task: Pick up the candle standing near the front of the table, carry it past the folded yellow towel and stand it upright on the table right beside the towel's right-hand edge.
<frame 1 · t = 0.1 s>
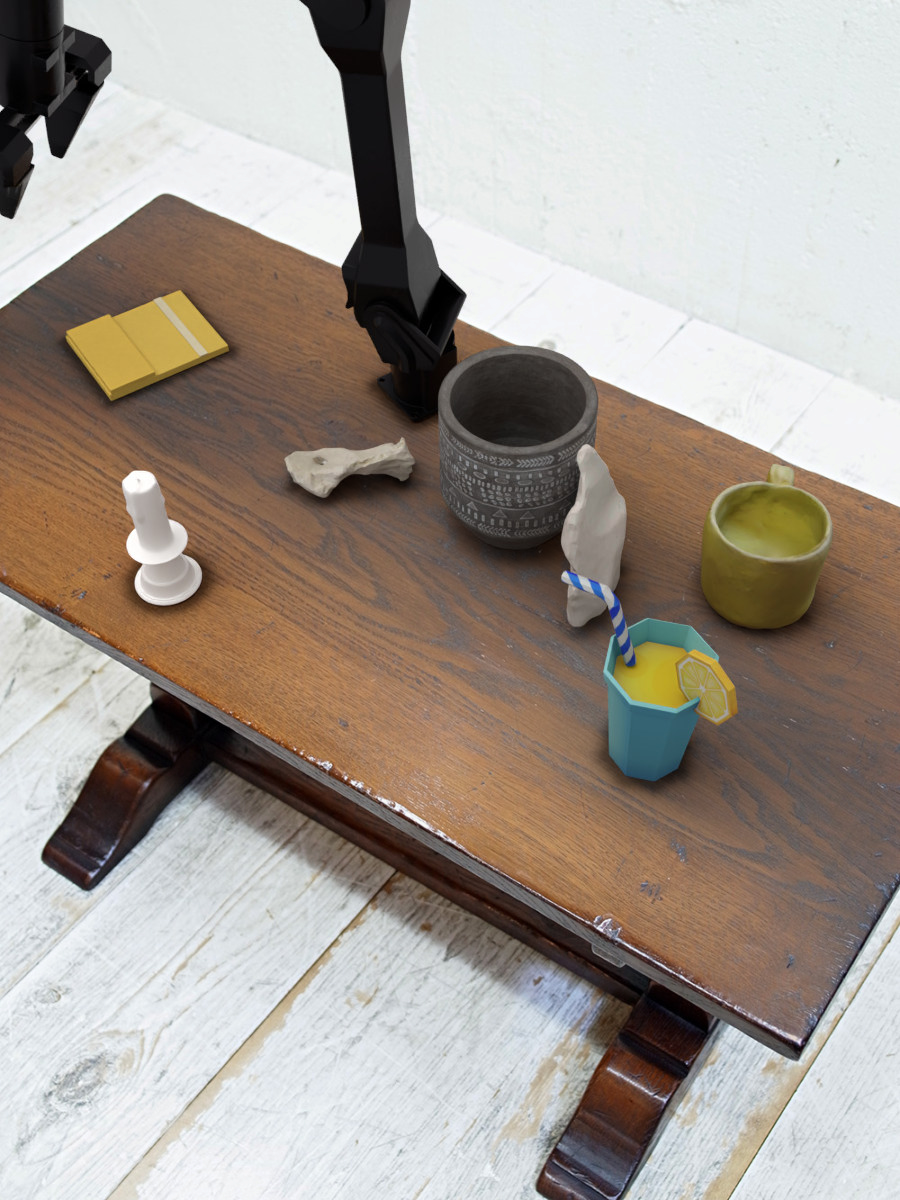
hand: (33, 185, 111), 15 cm above the table, tool pointing down, fingers open, 9 cm apart
cup: (634, 744, 93), on the table
candle: (169, 581, 103), on the table
stone: (606, 594, 102), on the table, touching planter
planter: (514, 513, 107), on the table, touching stone
off-white irregular piece: (354, 481, 110), on the table
towel: (147, 346, 121), on the table
mug: (758, 576, 102), on the table
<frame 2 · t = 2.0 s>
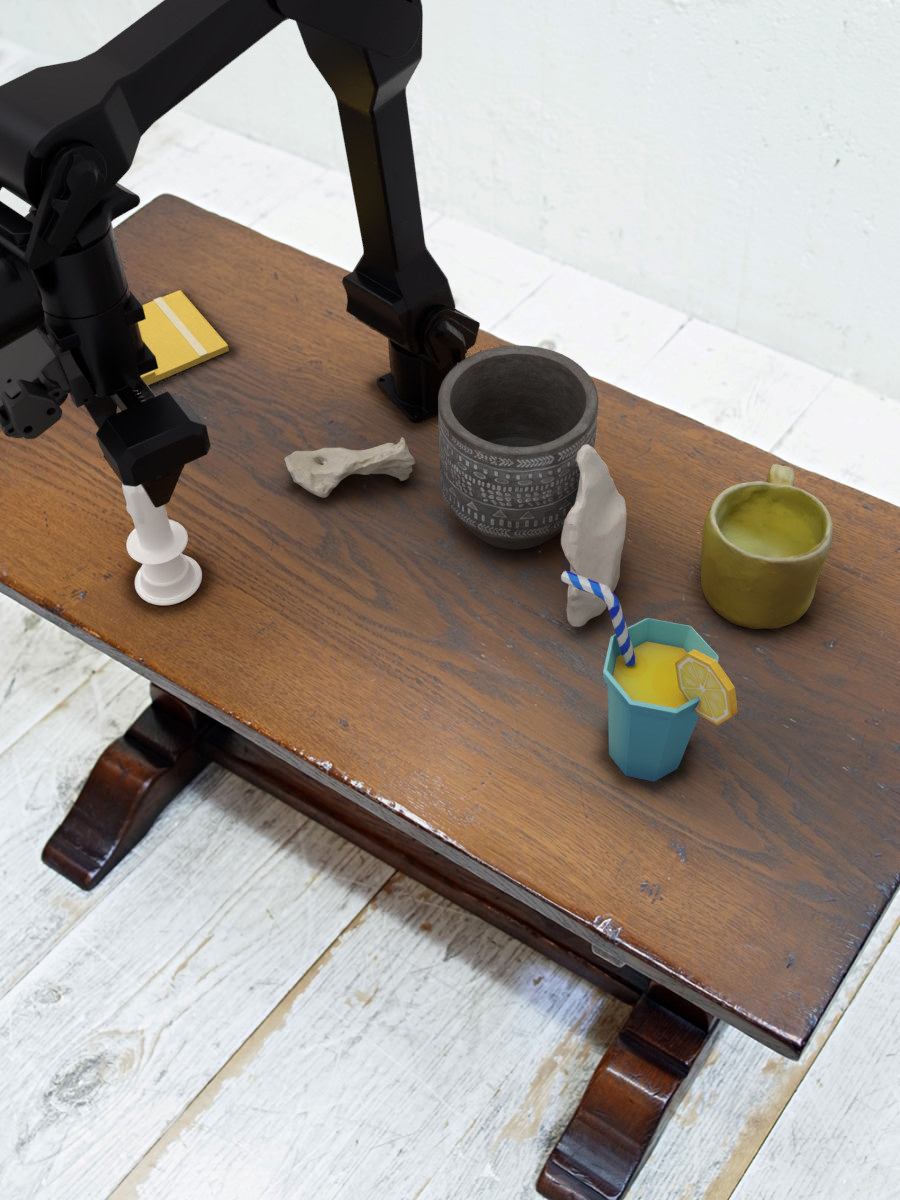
hand: (133, 465, 93), 13 cm above the table, tool pointing down, fingers open, 9 cm apart
stone: (606, 594, 102), on the table
planter: (514, 513, 107), on the table
everything else where it was.
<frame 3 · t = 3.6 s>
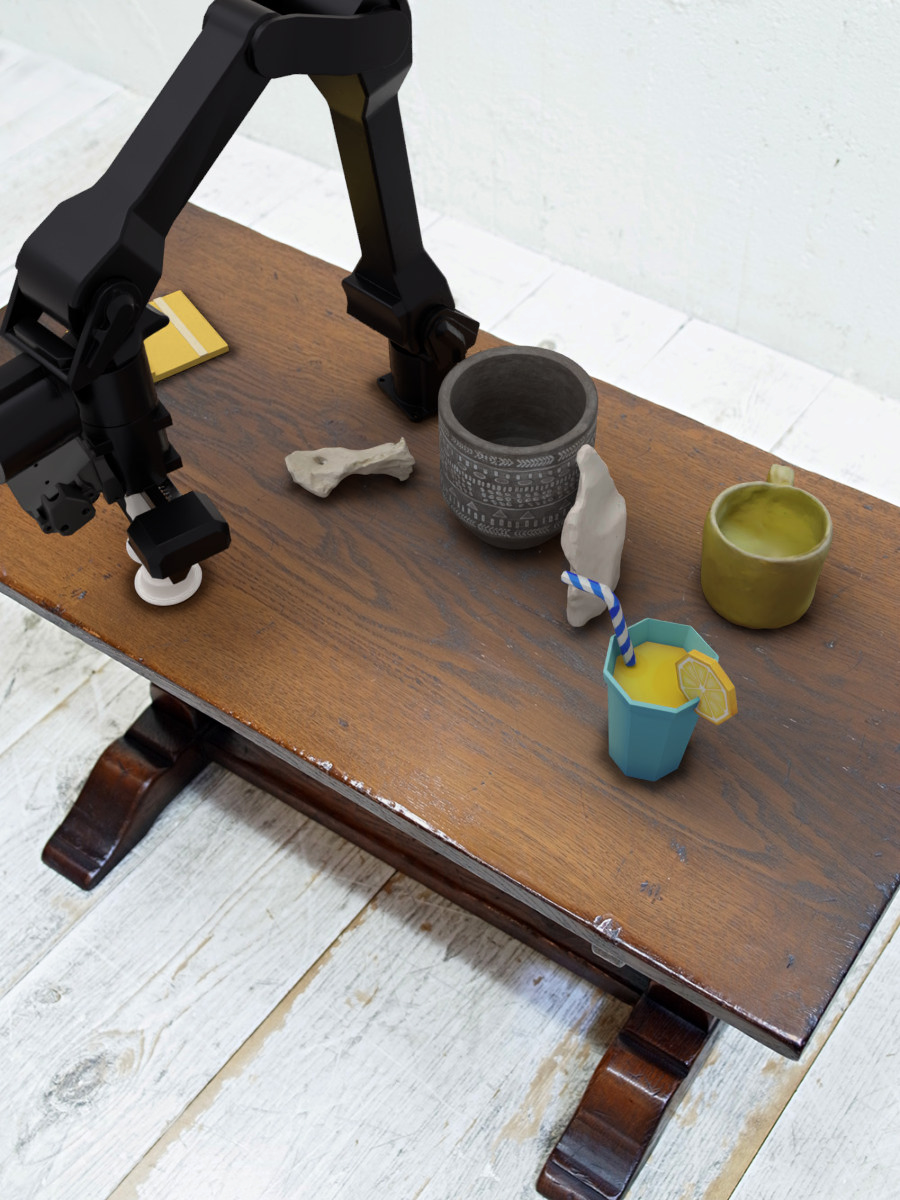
hand: (157, 550, 100), 4 cm above the table, tool pointing down, fingers closed on candle, 7 cm apart
candle: (169, 581, 103), on the table, touching gripper
stone: (606, 594, 102), on the table, touching planter
planter: (514, 513, 107), on the table, touching stone
everything else where it was.
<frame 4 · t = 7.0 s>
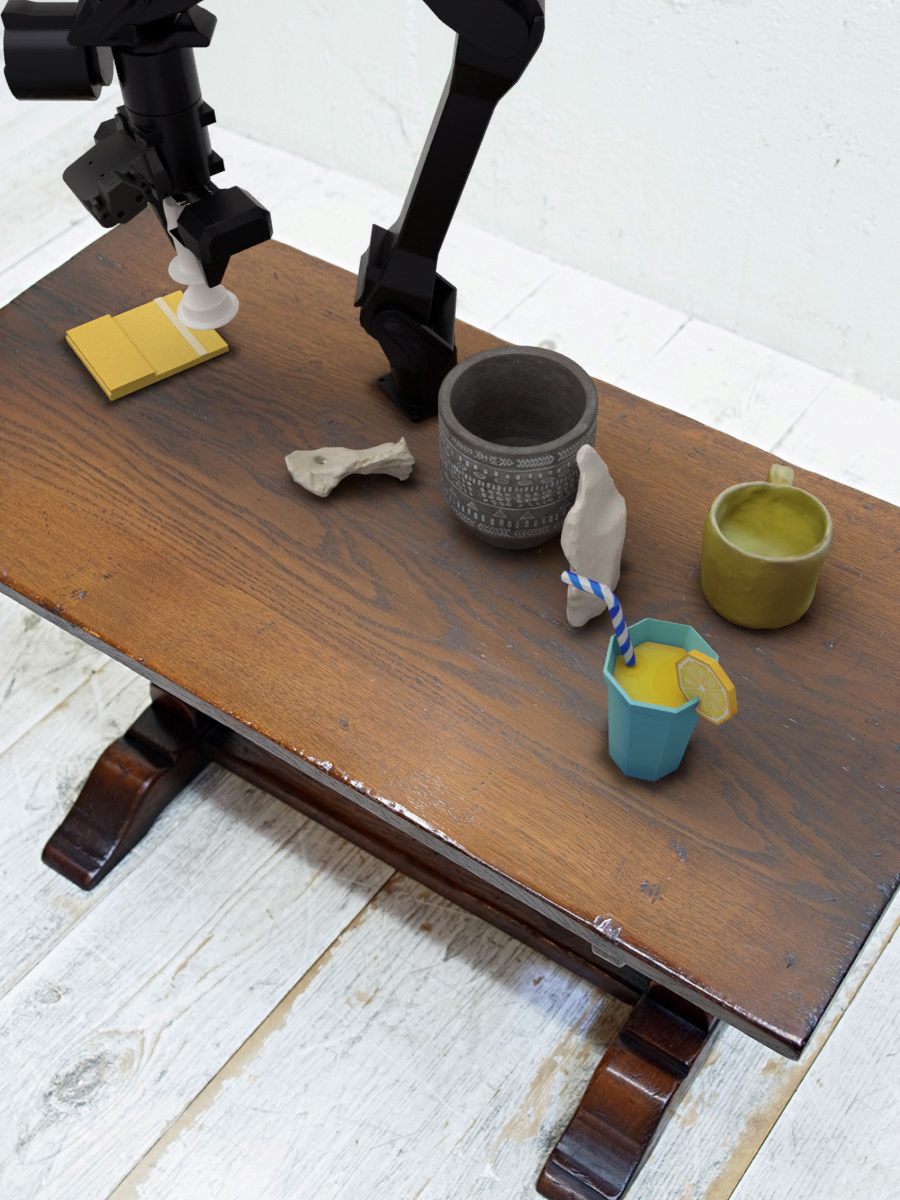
hand: (199, 270, 107), 13 cm above the table, tool pointing down, fingers closed on candle, 5 cm apart
candle: (208, 311, 111), point 8 cm above the table, touching gripper
stone: (606, 594, 102), on the table
planter: (514, 513, 107), on the table
everything else where it was.
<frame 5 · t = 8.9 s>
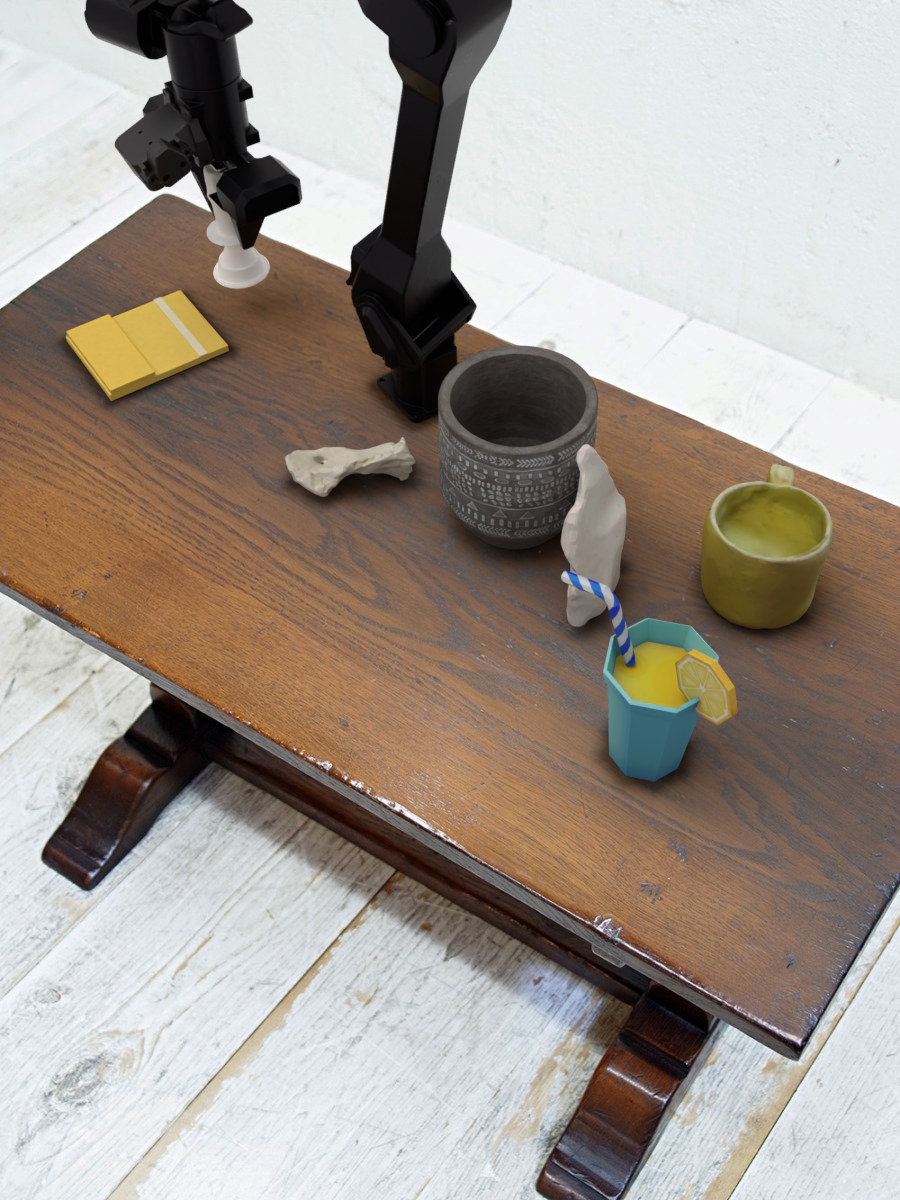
hand: (234, 233, 118), 8 cm above the table, tool pointing down, fingers closed on candle, 5 cm apart
candle: (242, 272, 121), point 4 cm above the table, touching gripper
everything else where it was.
when the fingers open (4 cm above the table, at t = 10.3 s): candle stays where it is, on the table.
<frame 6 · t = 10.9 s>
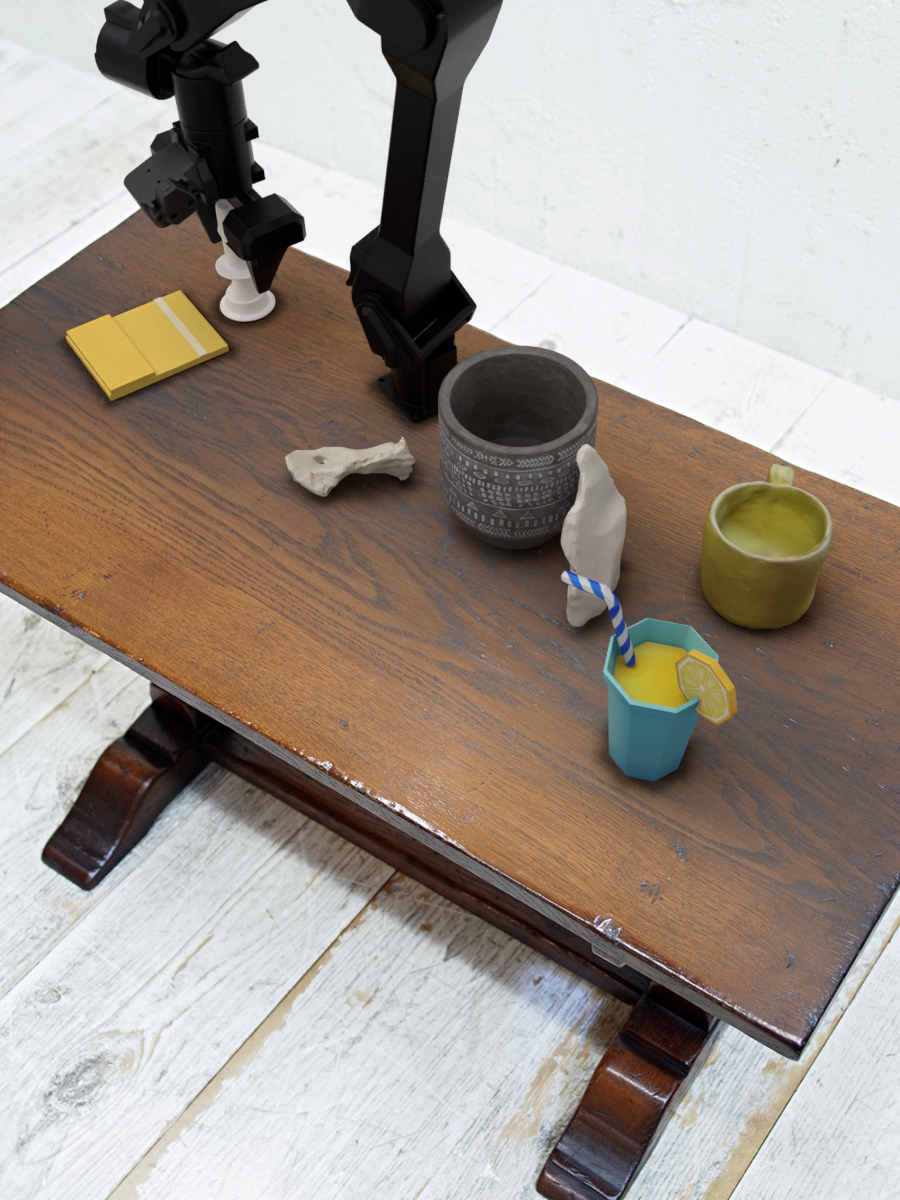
hand: (239, 266, 121), 5 cm above the table, tool pointing down, fingers open, 9 cm apart
candle: (248, 306, 125), on the table
stone: (607, 594, 102), on the table, touching planter
planter: (514, 513, 107), on the table, touching stone
everything else where it was.
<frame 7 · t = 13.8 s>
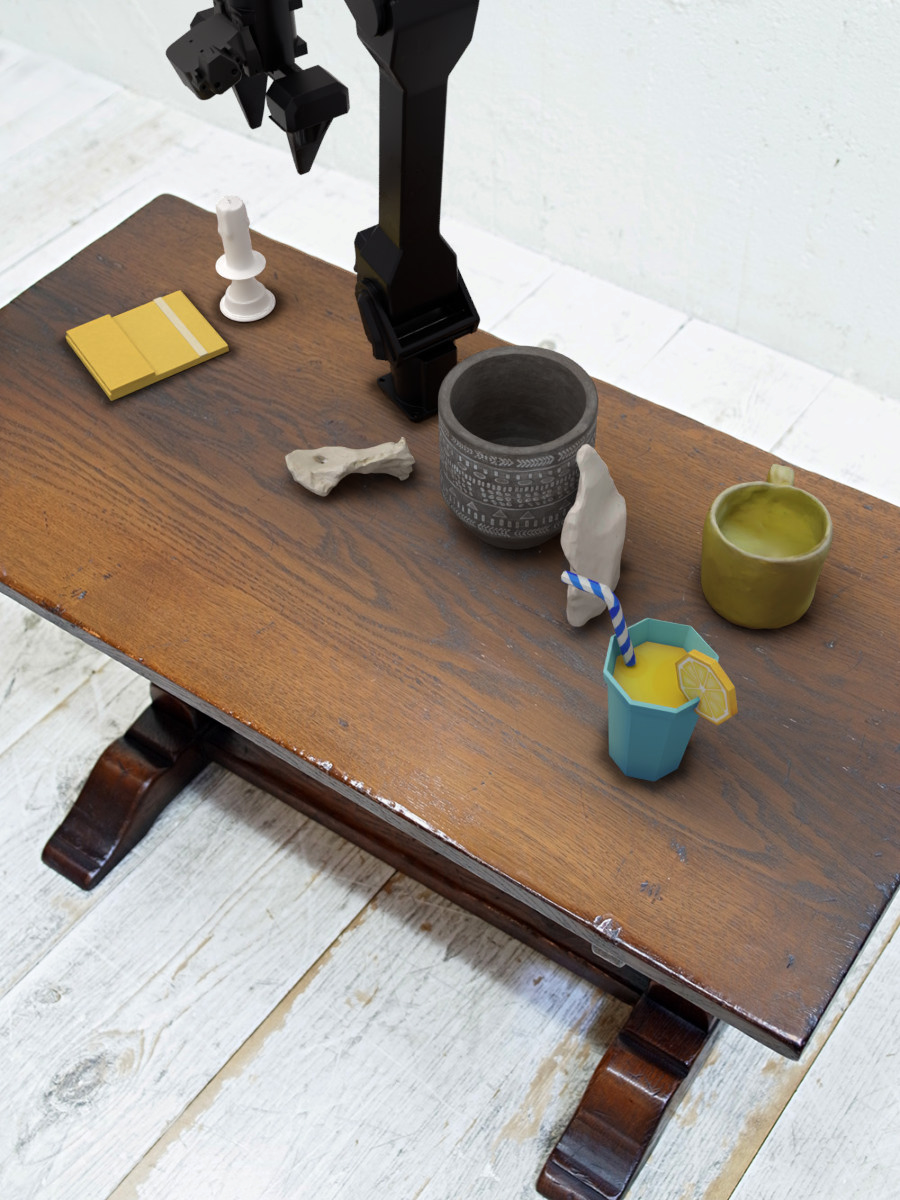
hand: (279, 149, 120), 12 cm above the table, tool pointing down, fingers open, 9 cm apart
nothing on the table moved.
at the end: candle inside the target area on the table beside the towel (0.4 cm from its centre), on the table; candle tilted 0°; the gripper is holding nothing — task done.
